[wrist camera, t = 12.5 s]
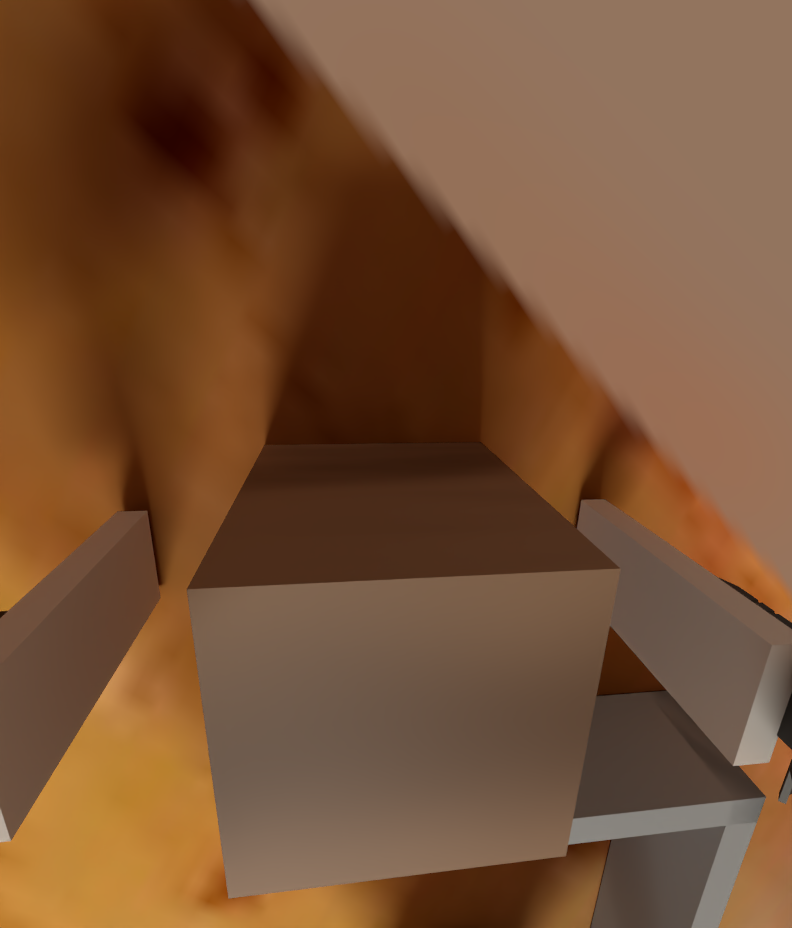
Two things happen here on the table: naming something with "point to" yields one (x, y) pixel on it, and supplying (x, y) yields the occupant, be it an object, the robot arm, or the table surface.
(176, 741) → the table surface
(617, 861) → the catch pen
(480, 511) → the walnut block
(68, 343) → the table surface
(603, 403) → the table surface
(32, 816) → the table surface
